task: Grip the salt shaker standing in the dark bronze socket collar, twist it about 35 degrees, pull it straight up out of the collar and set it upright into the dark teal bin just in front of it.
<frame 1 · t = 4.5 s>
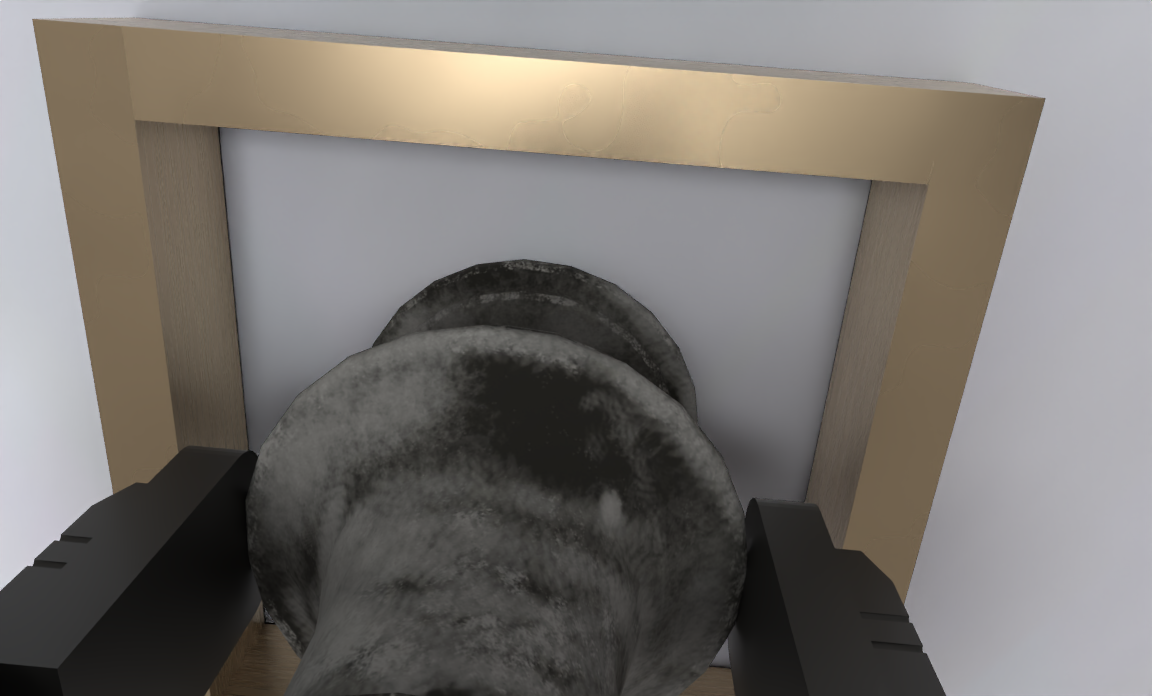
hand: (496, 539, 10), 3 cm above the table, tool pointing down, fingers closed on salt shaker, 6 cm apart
socket collar: (527, 423, 13), on the table
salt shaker: (529, 416, 13), resting in socket collar, touching gripper
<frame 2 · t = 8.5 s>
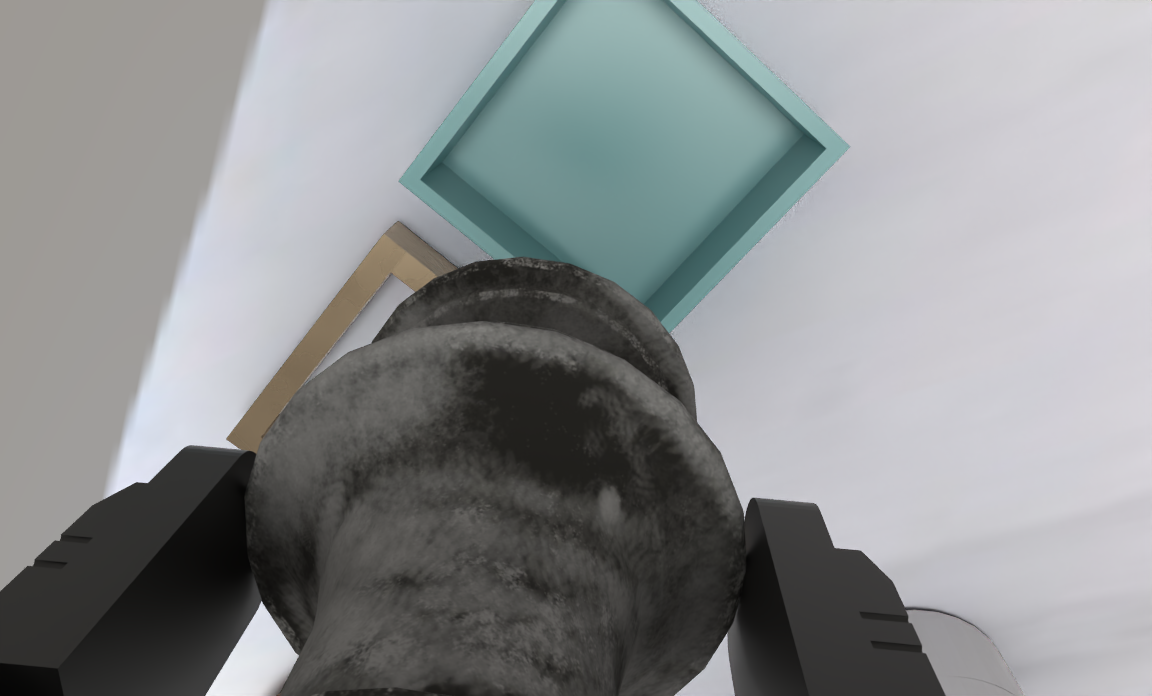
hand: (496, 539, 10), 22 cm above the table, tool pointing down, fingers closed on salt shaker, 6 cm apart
socket collar: (429, 406, 34), on the table
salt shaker: (528, 414, 13), point 18 cm above the table, touching gripper
bin: (619, 145, 29), on the table
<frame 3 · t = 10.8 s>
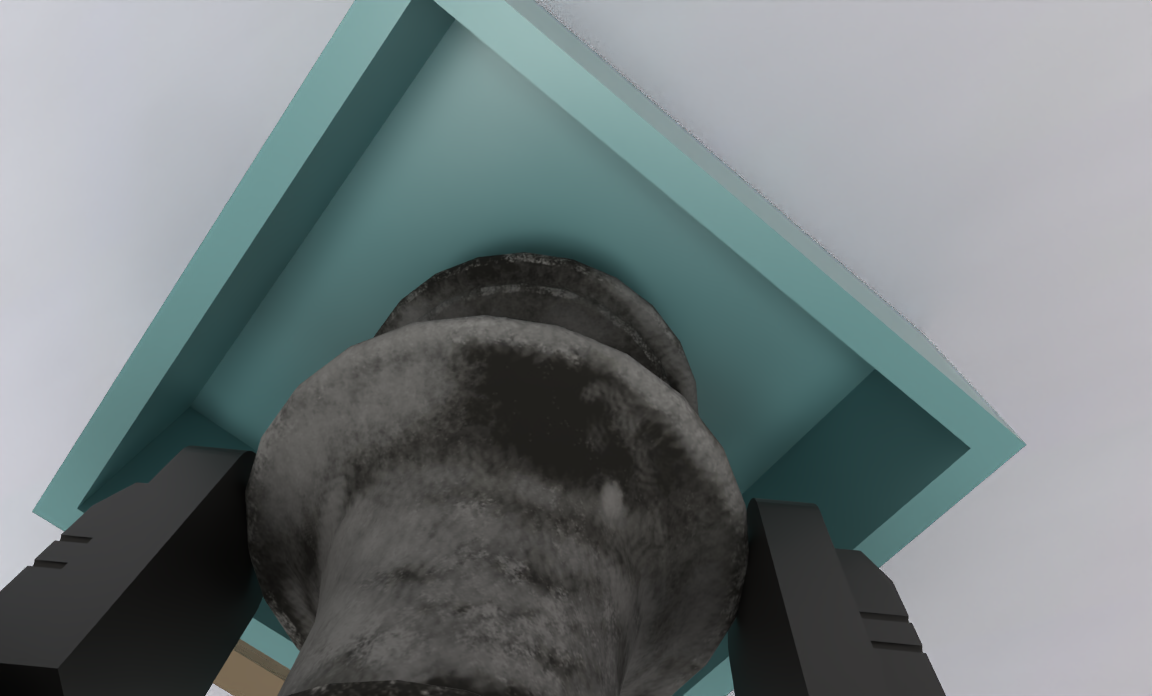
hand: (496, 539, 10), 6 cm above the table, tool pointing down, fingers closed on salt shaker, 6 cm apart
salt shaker: (529, 410, 13), point 2 cm above the table, touching gripper
bin: (531, 366, 15), on the table
when the fingers open (5 cm above the table, at t = 11.4 s): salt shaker drops 1 cm, resting on bin.
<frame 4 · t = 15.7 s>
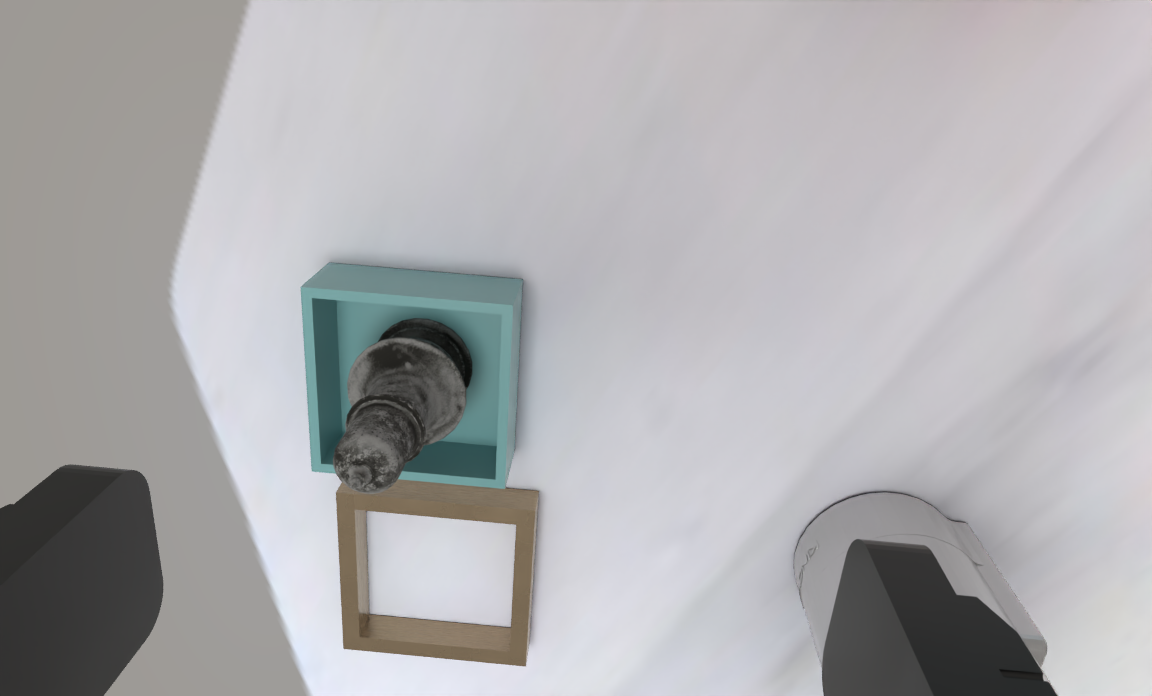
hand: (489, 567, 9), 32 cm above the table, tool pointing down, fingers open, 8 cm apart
socket collar: (442, 561, 49), on the table
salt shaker: (423, 363, 43), resting on bin
bin: (425, 360, 44), on the table
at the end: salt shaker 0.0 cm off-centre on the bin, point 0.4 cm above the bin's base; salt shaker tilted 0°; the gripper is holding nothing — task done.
